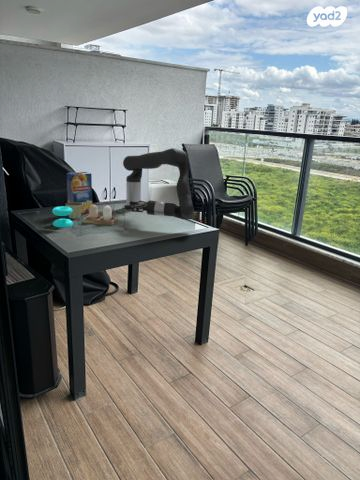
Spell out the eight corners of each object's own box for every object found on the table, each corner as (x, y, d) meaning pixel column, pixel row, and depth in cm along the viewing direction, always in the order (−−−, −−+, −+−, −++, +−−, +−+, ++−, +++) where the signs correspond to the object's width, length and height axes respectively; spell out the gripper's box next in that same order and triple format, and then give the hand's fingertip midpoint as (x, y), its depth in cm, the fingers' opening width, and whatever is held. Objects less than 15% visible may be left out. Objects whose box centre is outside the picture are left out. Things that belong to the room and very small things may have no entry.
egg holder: (89, 220, 208) (89, 214, 207) (117, 222, 205) (117, 217, 204) (82, 224, 200) (82, 218, 199) (112, 227, 197) (111, 221, 196)
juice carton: (74, 216, 214) (72, 174, 207) (68, 213, 220) (66, 173, 212) (92, 213, 222) (91, 173, 215) (86, 210, 227) (85, 171, 220)
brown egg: (91, 219, 205) (90, 203, 202) (99, 220, 205) (98, 204, 202) (87, 221, 201) (87, 205, 198) (95, 222, 200) (95, 205, 197)
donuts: (48, 208, 188) (59, 205, 197) (49, 227, 191) (60, 223, 200) (64, 211, 185) (76, 207, 194) (65, 230, 188) (76, 225, 197)
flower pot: (75, 215, 215) (74, 201, 213) (87, 218, 211) (86, 203, 208) (62, 219, 208) (61, 203, 205) (74, 221, 203) (74, 206, 200)
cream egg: (104, 220, 204) (104, 204, 201) (112, 221, 204) (112, 205, 201) (101, 222, 200) (101, 206, 197) (109, 223, 199) (109, 206, 196)
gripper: (160, 198, 200) (131, 195, 203) (153, 204, 187) (122, 201, 189) (159, 211, 203) (131, 208, 205) (153, 218, 189) (122, 215, 192)
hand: (127, 205), depth 197 cm, fingers open, 8 cm apart
